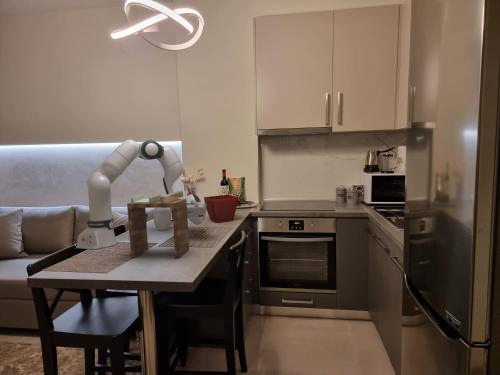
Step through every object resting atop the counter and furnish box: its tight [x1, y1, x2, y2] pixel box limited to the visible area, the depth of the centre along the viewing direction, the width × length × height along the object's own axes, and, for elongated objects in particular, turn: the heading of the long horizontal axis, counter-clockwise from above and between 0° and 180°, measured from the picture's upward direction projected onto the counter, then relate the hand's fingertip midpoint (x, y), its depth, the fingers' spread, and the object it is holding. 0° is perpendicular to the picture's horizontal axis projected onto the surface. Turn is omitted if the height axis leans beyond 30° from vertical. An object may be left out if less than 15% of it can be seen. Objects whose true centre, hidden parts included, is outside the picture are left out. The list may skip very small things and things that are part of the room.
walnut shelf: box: [126, 198, 190, 260], centre depth 168 cm, size 24×14×26 cm, turn 81°
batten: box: [160, 190, 184, 203], centre depth 170 cm, size 3×22×3 cm, turn 171°
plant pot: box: [203, 194, 239, 224], centre depth 245 cm, size 19×19×17 cm
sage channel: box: [130, 194, 161, 203], centre depth 168 cm, size 10×11×2 cm
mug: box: [152, 208, 173, 232], centre depth 224 cm, size 15×11×13 cm
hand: (183, 201), depth 186 cm, fingers open, 8 cm apart
